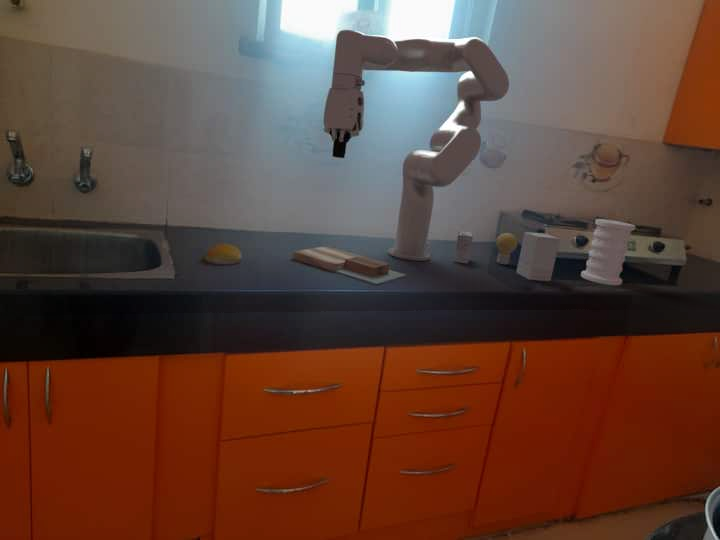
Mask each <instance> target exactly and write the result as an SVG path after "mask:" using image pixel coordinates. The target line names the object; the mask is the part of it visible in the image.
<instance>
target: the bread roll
mask: <svg viewBox="0 0 720 540" xmlns="http://www.w3.org/2000/svg"><path fill="white" fill-rule="evenodd" d="M204 260H205V261H206V262H208V263H210V264H214V265H222V266H223V265H224V266H225V265H226V266H229V265H236V264H238V263H239V262H241V260H242V253H241V251H240V250H239V248H237V247H236V246H234V245H232V244H230V243H217V244H215V245H214V246H211V247H210V248H209V249H208V251H206V253H205V254H204Z"/></svg>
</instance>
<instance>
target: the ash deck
mask: <svg viewBox="0 0 720 540" xmlns="http://www.w3.org/2000/svg"><path fill="white" fill-rule="evenodd" d="M358 256H361V255H360V254H355V253H352V252H349V251H345V250H341V249H337V248H334V247H330V246H328V245H326V246H320V247H313V248H307V249H300V250H294V251H292V260H295V261H299V262H301V263H305V264H307V265H311V266H314V267H316V268H317V267H318V268H321V269H324V270H327V271H330V272H334V273H336V271H338V270H342V269H344V264H345V259H349V258H353V257H358ZM365 257H366V256H365ZM366 258H368V257H366Z"/></svg>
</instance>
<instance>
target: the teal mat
mask: <svg viewBox="0 0 720 540" xmlns="http://www.w3.org/2000/svg"><path fill="white" fill-rule="evenodd" d="M335 273H337V274H340V275H343V276H347V277H349V276H350V277H349V278H352V277H353V279H356V280H360V281H363V282H367V283H369V284H373V285H376V286H377V285H381V284H385V283H388V282H392V281H395V280H397V279H401V278H403V277H407V274H406V273H401V272H398V271H394V270H391V269H389V273H388V274H385V275H381V276H378V277H374V278H373V277H370V276H366V275H363V274H360V273H356V272H353V271H350V270H346V269H342V270H338V271H336V272H335Z"/></svg>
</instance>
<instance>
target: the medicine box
mask: <svg viewBox="0 0 720 540" xmlns="http://www.w3.org/2000/svg"><path fill="white" fill-rule="evenodd" d="M457 233H458V234H457V237H456V239H457V240H456V244H455V251H454V257H453V258H454V259H453V262H454V263H460V264H465V265H469V261H470V255H471V250H472V243H473V232H470V231H462V230H461V231H458V232H457Z"/></svg>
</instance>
